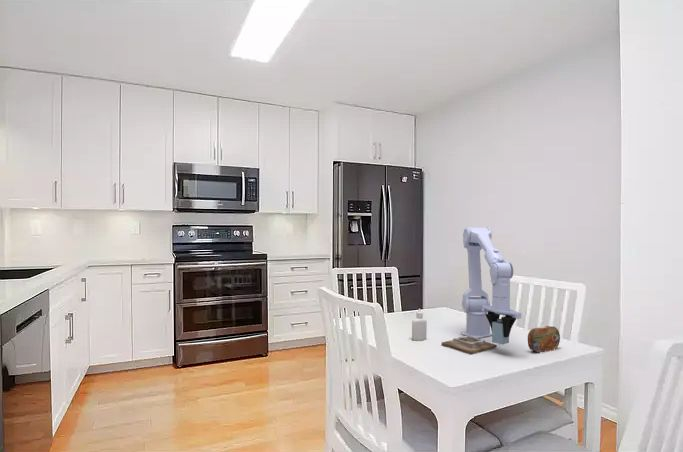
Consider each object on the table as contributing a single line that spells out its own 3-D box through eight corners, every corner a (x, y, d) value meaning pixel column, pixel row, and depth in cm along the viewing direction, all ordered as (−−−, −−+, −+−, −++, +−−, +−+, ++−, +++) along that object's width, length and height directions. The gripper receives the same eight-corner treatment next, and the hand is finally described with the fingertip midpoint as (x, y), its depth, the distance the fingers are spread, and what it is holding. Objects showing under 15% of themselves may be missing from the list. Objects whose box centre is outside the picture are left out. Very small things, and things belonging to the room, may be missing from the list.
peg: (498, 340, 143) (499, 317, 143) (509, 342, 140) (509, 319, 140) (491, 341, 141) (492, 319, 141) (502, 344, 138) (502, 321, 138)
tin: (533, 354, 140) (533, 330, 140) (525, 351, 142) (525, 328, 143) (560, 348, 147) (561, 325, 147) (552, 346, 149) (553, 323, 149)
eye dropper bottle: (411, 337, 159) (412, 307, 159) (426, 338, 158) (426, 307, 158) (412, 340, 155) (412, 309, 155) (426, 341, 154) (427, 310, 154)
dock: (467, 339, 158) (467, 332, 158) (496, 347, 147) (496, 340, 147) (441, 345, 149) (441, 338, 149) (470, 354, 138) (470, 347, 138)
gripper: (526, 298, 137) (526, 338, 137) (490, 292, 149) (490, 329, 149) (514, 300, 133) (513, 341, 133) (478, 294, 145) (477, 331, 145)
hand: (500, 335), depth 141 cm, fingers closed on peg, 4 cm apart
